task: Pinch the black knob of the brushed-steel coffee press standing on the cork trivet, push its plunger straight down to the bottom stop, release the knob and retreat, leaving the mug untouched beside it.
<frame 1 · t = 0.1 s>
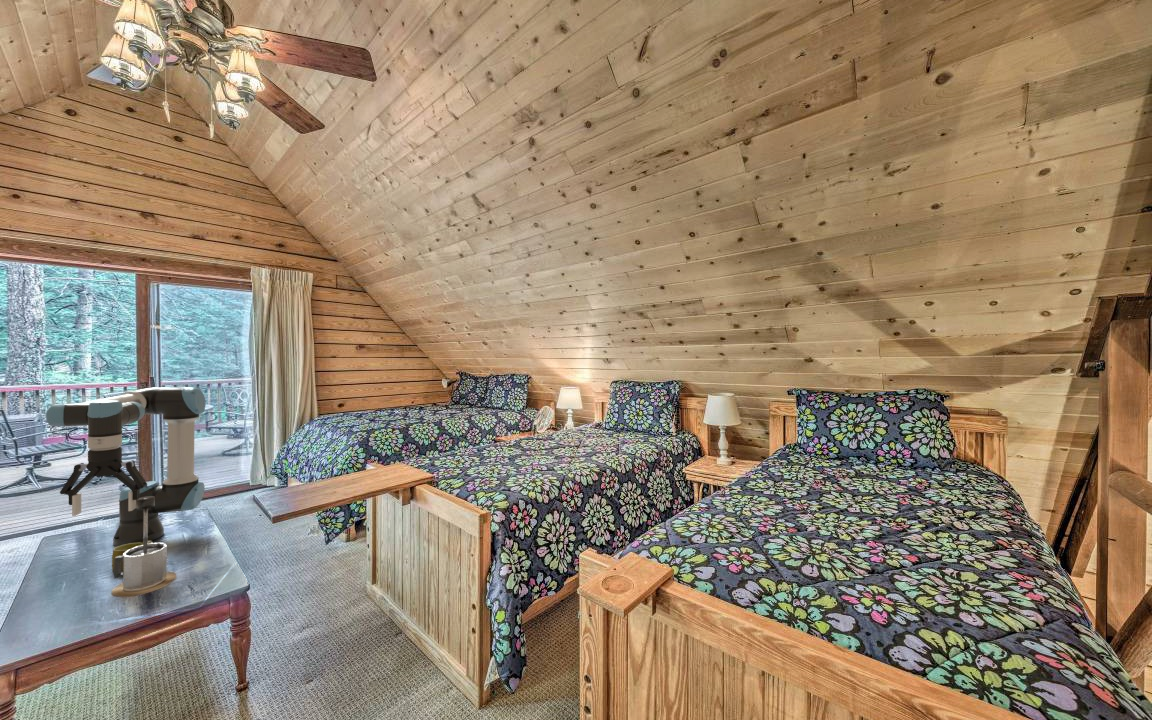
hand: (105, 512, 140), 28 cm above the table, fingers open, 13 cm apart
mug: (134, 565, 160), on the table
plunger: (145, 526, 147), point 21 cm above the table, slide at 0.0 cm
trivet: (145, 585, 147), on the table
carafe: (145, 583, 147), resting on trivet
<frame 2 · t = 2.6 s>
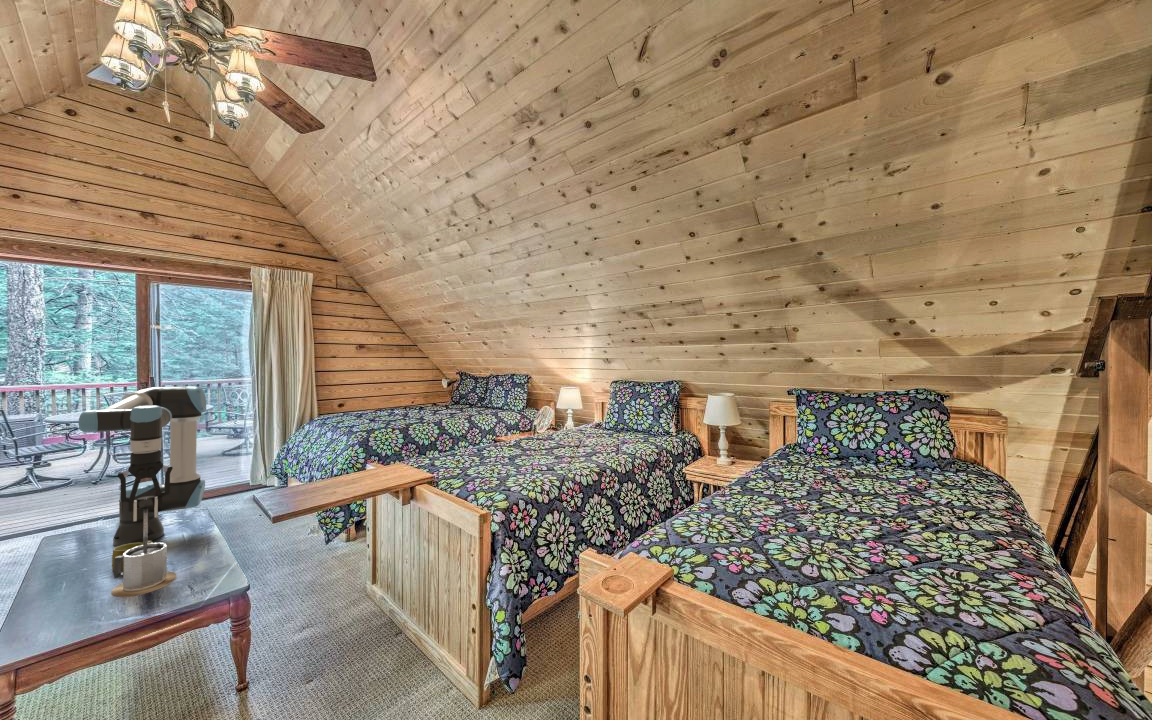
hand: (145, 517, 147), 24 cm above the table, fingers closed on plunger, 4 cm apart
plunger: (145, 526, 147), point 21 cm above the table, slide at 0.0 cm, touching gripper
everything else where it was.
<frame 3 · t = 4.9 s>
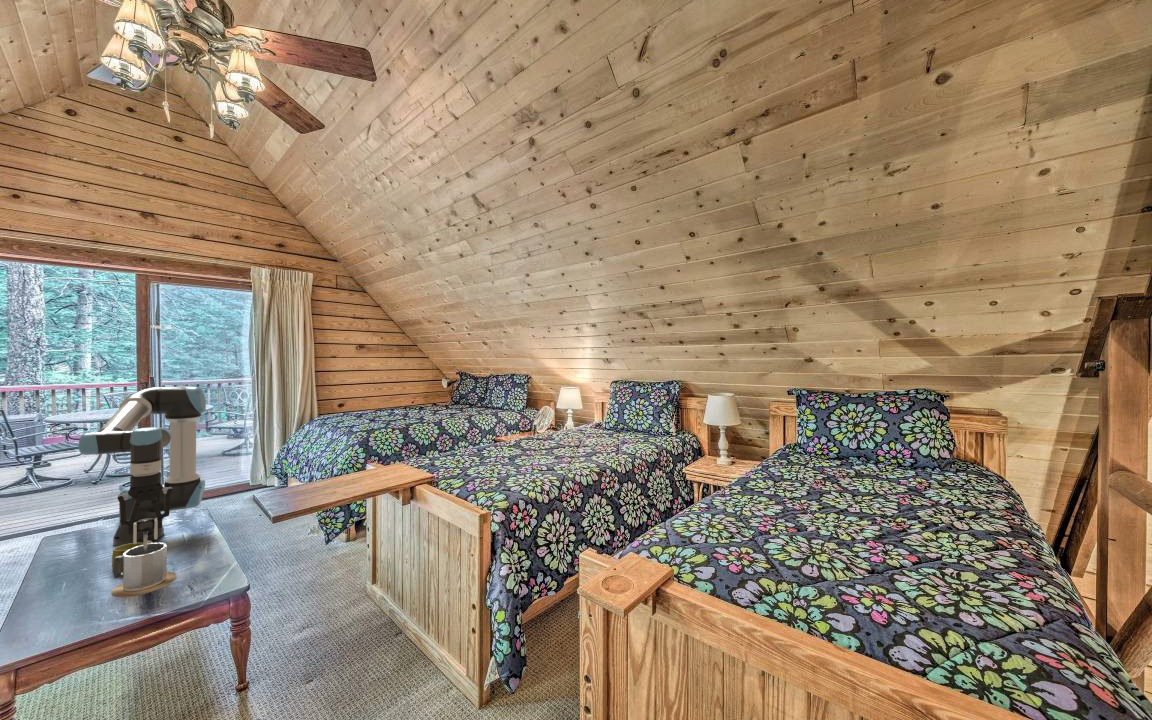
hand: (145, 540, 147), 16 cm above the table, fingers closed on plunger, 4 cm apart
plunger: (145, 548, 147), point 13 cm above the table, slide at 7.7 cm, touching gripper
everything else where it was.
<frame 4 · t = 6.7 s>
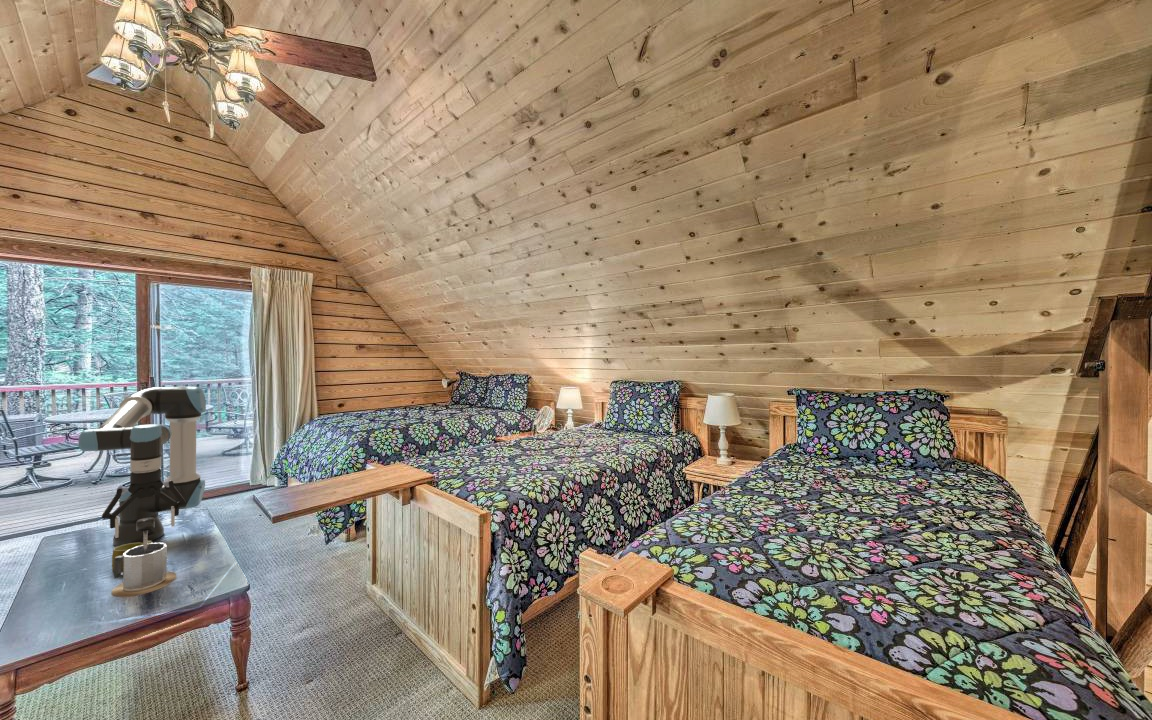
hand: (145, 530, 147), 19 cm above the table, fingers open, 13 cm apart
plunger: (145, 548, 147), point 13 cm above the table, slide at 7.6 cm
everything else where it was.
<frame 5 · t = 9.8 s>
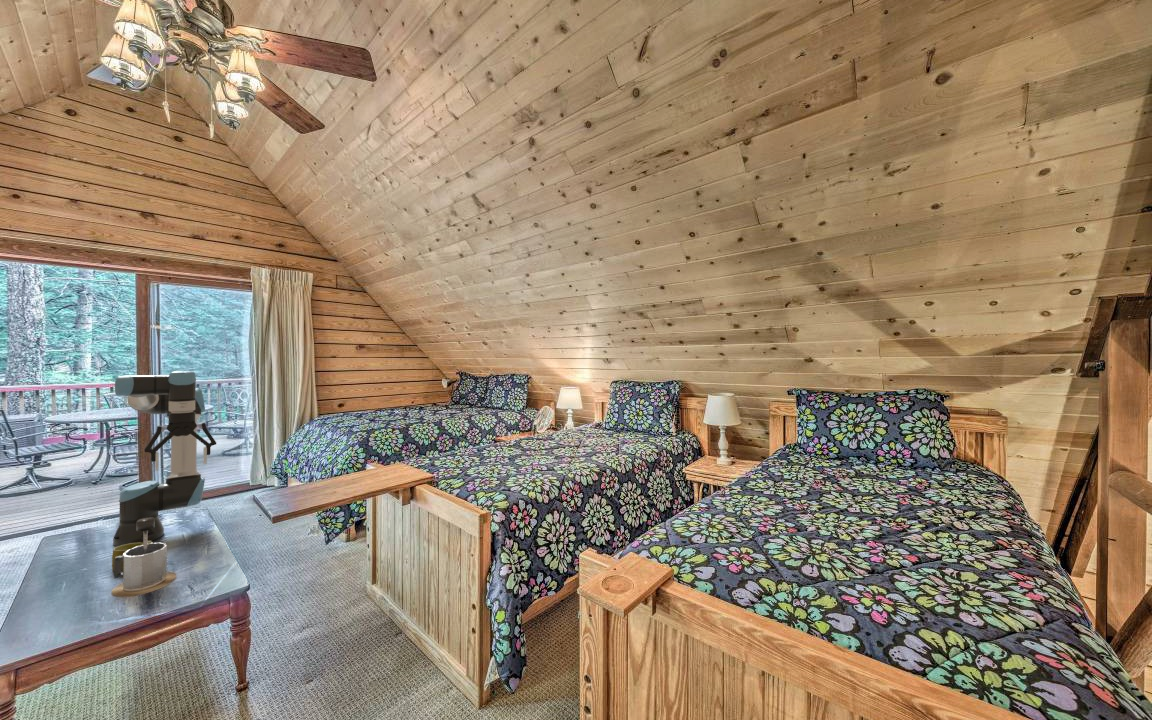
hand: (181, 466, 163), 37 cm above the table, fingers open, 13 cm apart
nothing on the table moved.
at the end: plunger slide at 7.6 cm; the gripper is holding nothing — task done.
